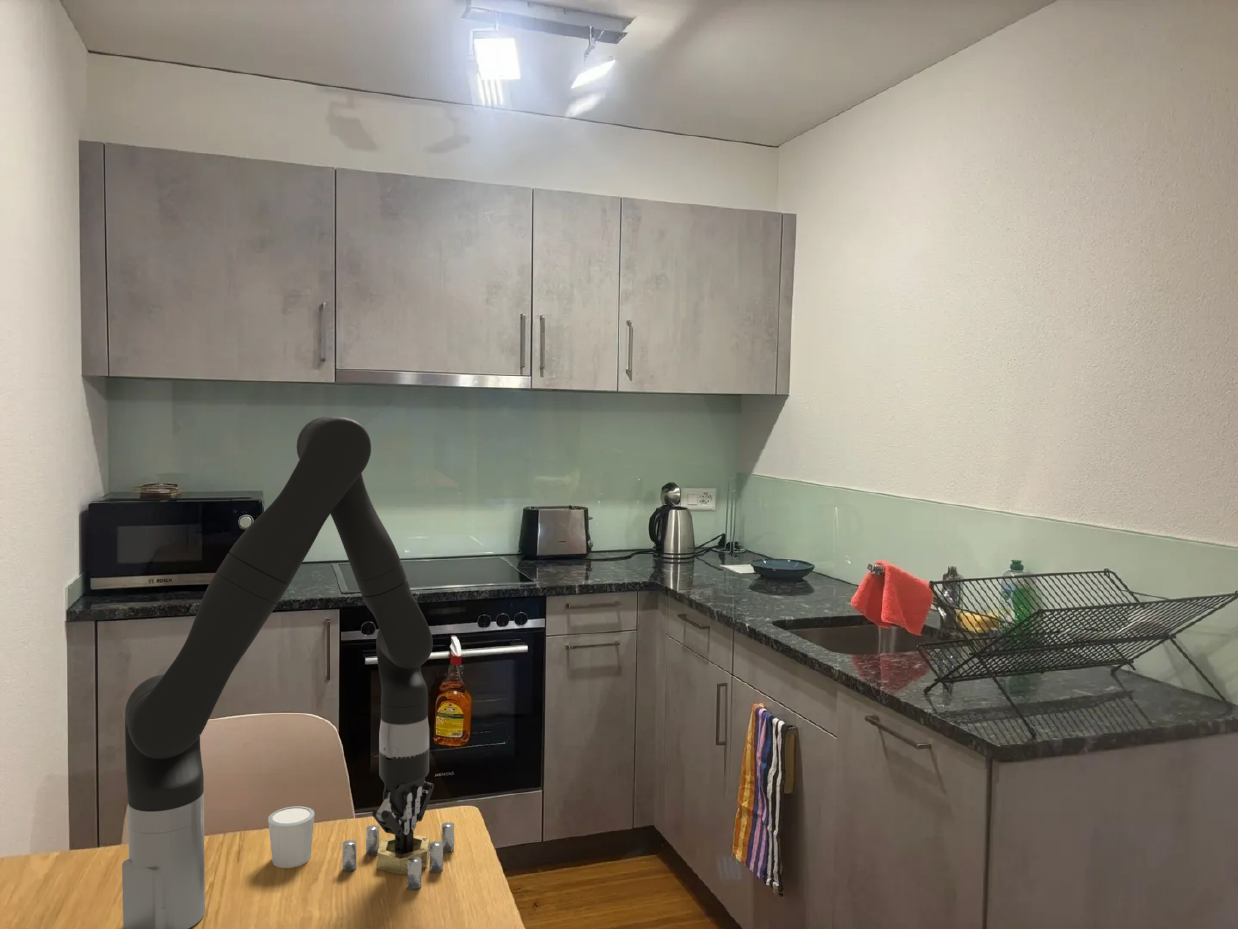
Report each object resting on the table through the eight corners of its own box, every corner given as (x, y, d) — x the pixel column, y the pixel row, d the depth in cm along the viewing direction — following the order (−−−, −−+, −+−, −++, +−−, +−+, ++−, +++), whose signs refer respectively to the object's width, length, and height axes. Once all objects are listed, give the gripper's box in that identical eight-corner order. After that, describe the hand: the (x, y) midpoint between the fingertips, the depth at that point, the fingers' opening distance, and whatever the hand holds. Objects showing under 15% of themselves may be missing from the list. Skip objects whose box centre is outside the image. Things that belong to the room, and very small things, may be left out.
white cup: (299, 872, 138) (299, 827, 138) (258, 867, 139) (258, 822, 139) (323, 851, 145) (323, 808, 144) (284, 846, 146) (283, 803, 146)
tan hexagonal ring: (412, 878, 137) (412, 862, 137) (366, 865, 140) (366, 850, 140) (440, 856, 144) (440, 840, 144) (396, 844, 147) (396, 829, 147)
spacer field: (415, 891, 133) (416, 864, 133) (339, 870, 139) (339, 844, 139) (467, 850, 146) (467, 826, 145) (395, 832, 151) (395, 809, 151)
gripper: (410, 728, 148) (410, 831, 150) (356, 756, 136) (356, 868, 138) (449, 735, 145) (448, 841, 147) (397, 765, 133) (397, 880, 135)
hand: (404, 854), depth 142 cm, fingers closed
